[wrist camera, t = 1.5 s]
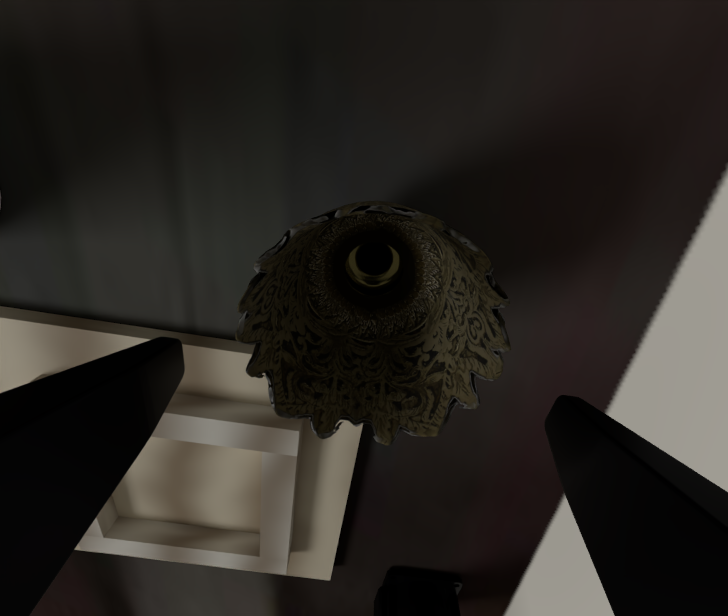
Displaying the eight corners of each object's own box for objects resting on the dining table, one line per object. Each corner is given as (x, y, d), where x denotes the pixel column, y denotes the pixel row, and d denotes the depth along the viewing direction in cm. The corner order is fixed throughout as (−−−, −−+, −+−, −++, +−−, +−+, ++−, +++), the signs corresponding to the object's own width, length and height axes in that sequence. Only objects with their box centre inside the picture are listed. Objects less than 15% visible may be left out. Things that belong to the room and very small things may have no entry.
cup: (472, 193, 14) (566, 241, 7) (430, 334, 18) (466, 462, 11) (304, 162, 14) (230, 181, 7) (292, 312, 17) (234, 429, 10)
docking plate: (373, 361, 19) (373, 390, 16) (331, 566, 28) (327, 602, 26) (-27, 302, 18) (-85, 324, 16) (72, 534, 28) (45, 569, 25)
